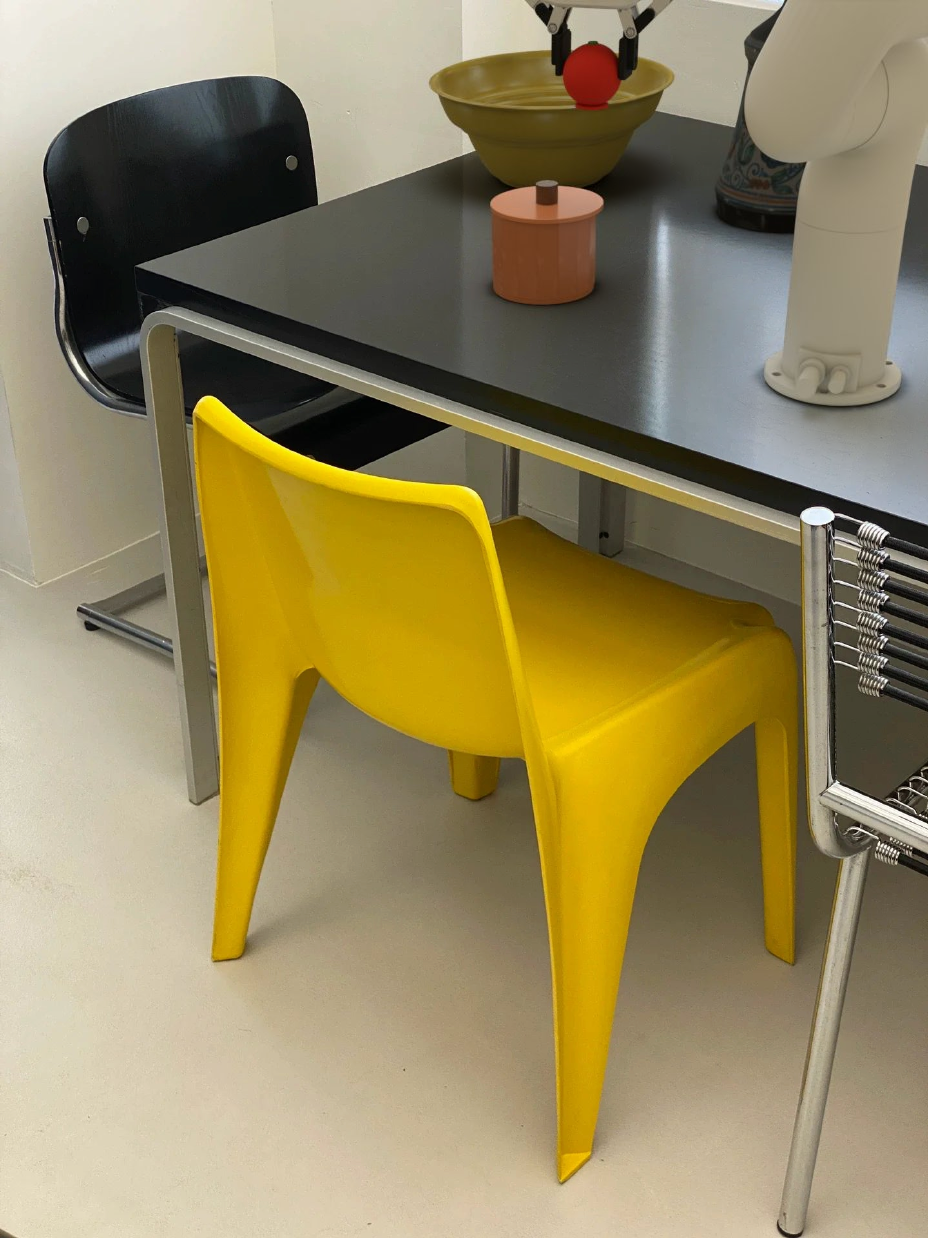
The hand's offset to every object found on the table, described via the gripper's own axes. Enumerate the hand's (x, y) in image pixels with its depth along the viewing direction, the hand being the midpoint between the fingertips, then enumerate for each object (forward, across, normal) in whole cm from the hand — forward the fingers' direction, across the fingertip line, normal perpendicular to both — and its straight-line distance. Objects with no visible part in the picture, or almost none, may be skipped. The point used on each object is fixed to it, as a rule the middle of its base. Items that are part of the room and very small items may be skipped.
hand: (593, 73), depth 144 cm
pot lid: (+14, -5, 0) cm, 15 cm away
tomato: (+3, 0, -1) cm, 3 cm away
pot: (+23, -5, 0) cm, 23 cm away
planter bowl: (+24, -18, +40) cm, 50 cm away
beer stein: (+23, +16, +33) cm, 43 cm away
